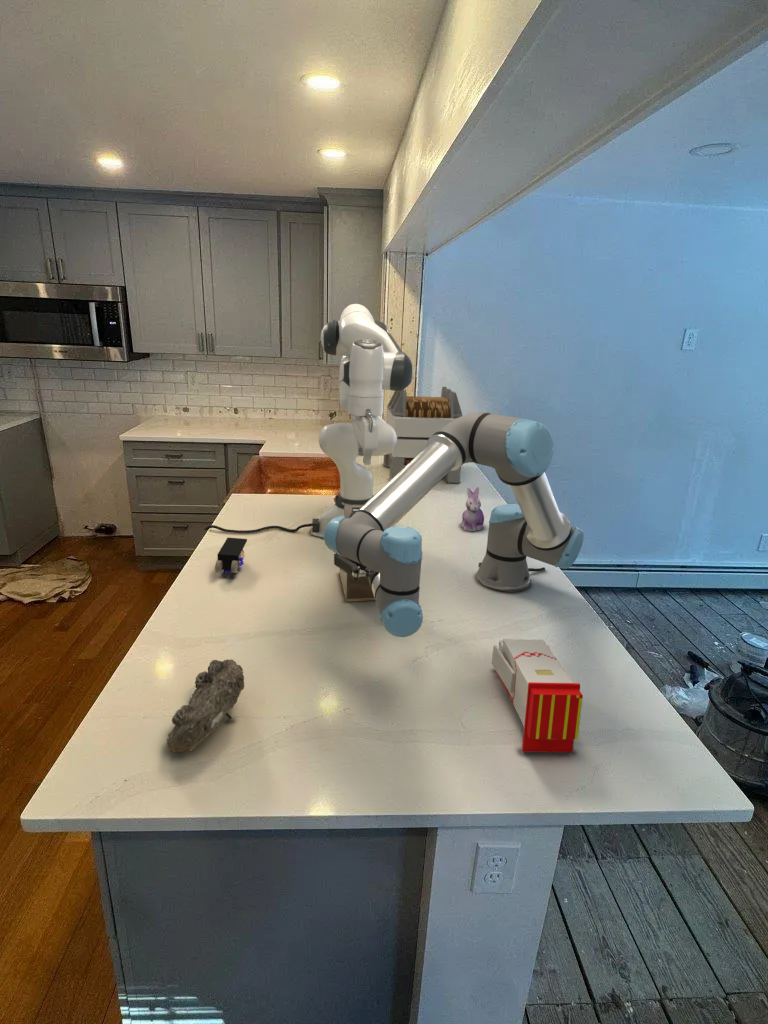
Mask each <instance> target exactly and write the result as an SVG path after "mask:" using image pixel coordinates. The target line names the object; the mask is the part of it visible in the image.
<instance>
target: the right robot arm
mask: <svg viewBox="0 0 768 1024" xmlns="http://www.w3.org/2000/svg"><path fill="white" fill-rule="evenodd" d="M553 448H554V439H553V436H552V433H551V431H550V429H549V428H548V427H547V426H546V425H545V424H543V423H542V422H538V421H534V420H533V419H530V418H521V417H514V416H508V415H502V414H495V413H491V412H485V411H477V412H471V413H467V414H464V415H462V416H461V417H459V418H457V419H455V420H453V421H451V422H450V423H448V424H446V425H445V426H443V427H442V428H440V429H439V430H438V431H437V432H435V433H434V434H433V435H432V436H431V437H430V438H429V439H428V441H427V447H426V448H425V449H424V450H423V451H422V452H420V453H419V454H418V455H417V456H416V457H415V458H414V459H413V460H412V461H411V462H410V463H409V464H408V465H404V468H403V469H402V470H401V471H400V472H399V473H398V474H397V475H396V476H395V477H394V478H392V479H391V480H390V479H389V481H388V482H386V484H384V486H383V487H381V488H380V489H379V490H378V491H377V492H376V493H375V494H373V497H372V498H371V499H370V500H369V501H368V502H367V503H366V504H364V505H363V506H362V507H361V508H360V509H359V510H358V511H357V512H356V513H355V514H354V515H353V516H352V517H351V518H348V517H343V516H338V517H335V518H333V519H332V520H331V521H330V522H329V523H328V525H327V526H326V529H325V532H324V538H323V541H324V544H325V546H326V548H327V549H329V550H330V551H331V552H334V553H333V565H334V566H336V567H337V568H339V570H340V569H342V570H343V571H344V572H346V573H347V574H349V575H350V576H351V577H352V579H353V580H355V581H356V580H359V577H362V576H365V577H366V578H368V580H369V583H370V586H371V589H372V591H373V595H374V598H375V600H374V601H375V603H376V606H377V609H378V613H379V616H380V621H381V623H382V624H383V626H384V629H385V630H386V632H388V633H389V634H390V635H391V636H394V637H397V638H407V637H411V636H412V635H415V634H416V633H417V632H418V631H419V630H420V629H421V627H422V625H423V622H424V614H423V610H422V607H421V605H420V589H421V587H420V583H421V571H422V570H421V569H422V559H423V537H422V535H421V533H420V532H419V531H418V530H417V529H415V528H413V527H411V526H403V525H397V524H398V523H399V522H400V521H401V520H402V519H403V518H404V517H405V516H406V515H407V514H408V513H409V512H410V511H411V510H412V509H413V508H414V507H415V506H417V504H418V503H419V502H420V501H421V500H422V499H423V498H424V497H425V496H426V495H427V494H428V493H429V492H430V491H432V489H434V487H435V486H436V485H437V484H438V483H439V482H440V481H442V479H444V476H445V475H446V474H447V473H448V472H449V471H454V470H457V469H459V468H460V467H461V468H462V466H463V465H464V464H468V463H469V464H470V463H475V464H477V465H480V466H481V465H482V466H485V467H489V468H492V469H494V471H495V473H496V475H497V477H498V479H499V481H501V483H503V484H504V485H507V486H508V487H510V489H511V493H512V494H513V496H514V498H515V500H516V503H508V504H507V503H506V504H501V505H497V506H495V507H493V508H492V510H491V512H490V517H489V521H488V531H487V542H486V551H485V555H484V557H483V559H482V561H481V562H478V570H477V581H478V582H479V583H480V584H482V585H483V586H484V587H487V588H489V589H491V590H495V591H498V592H499V591H500V592H505V593H506V592H507V593H508V592H510V593H512V592H513V593H515V592H521V591H523V590H526V589H527V588H528V587H529V586H530V582H531V575H530V572H532V573H533V572H535V573H536V572H537V573H538V572H544V571H546V567H540V568H535V567H533V568H531V567H530V568H529V565H528V562H527V561H528V560H527V558H530V559H534V560H536V561H539V562H542V563H545V564H547V565H550V566H553V567H554V568H559V569H563V570H567V569H570V568H571V566H573V564H574V563H575V562H576V560H577V559H578V556H579V554H580V552H581V549H582V546H583V543H584V538H585V533H584V530H583V529H582V528H579V527H578V526H572V525H571V522H570V519H569V518H568V517H567V515H565V513H563V512H561V511H560V509H559V506H558V503H557V502H556V498H555V496H554V494H553V490H552V488H551V484H550V482H549V480H548V477H547V474H546V472H547V470H548V468H549V467H550V465H551V462H552V460H553V455H554V450H553Z"/></svg>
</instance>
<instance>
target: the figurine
mask: <svg viewBox="0 0 768 1024" xmlns="http://www.w3.org/2000/svg"><path fill="white" fill-rule="evenodd" d="M466 491H467V493H466V494H467V499H466V501H465V507H466V509H465V510H464V511H463V513H462V516H461V517H462V518H461V519H462V520H461V527H462V528H463V530H464V531H469V532H475V531H480V530H481V529H482V528H484V523H485V515H484V512H483V510H482V509H481V507H482V502H481V499H480V497H479V494H480V488H479V487H478V486H477V487H476V488H475V489H474V490H473V491H472V490H471V488H469V487H468V488H467V489H466Z"/></svg>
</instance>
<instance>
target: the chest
mask: <svg viewBox="0 0 768 1024" xmlns="http://www.w3.org/2000/svg"><path fill="white" fill-rule="evenodd" d="M339 576H340V577H339V578H340V581H341V585H342V589H343V595H344V598H345V601H346V602H362V601H376V600H375V598H374V595H373V591H372V589H371V586H370V583H369V580H368V578H366V577H365V576H362V577H359V580H356V581H355V580H353V579H352V577H351V576H350V575H349V574H347V573H346V572H344V571H343V570H342V569H340V568H339Z"/></svg>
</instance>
